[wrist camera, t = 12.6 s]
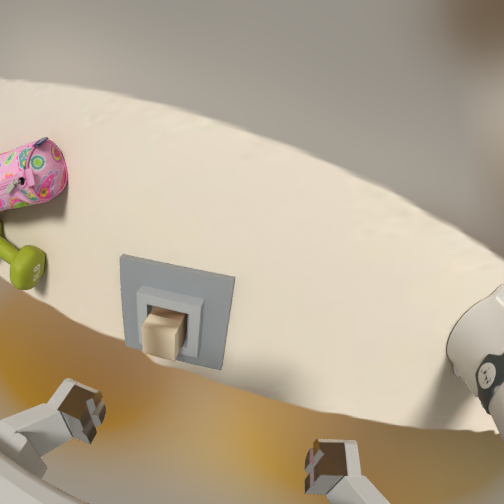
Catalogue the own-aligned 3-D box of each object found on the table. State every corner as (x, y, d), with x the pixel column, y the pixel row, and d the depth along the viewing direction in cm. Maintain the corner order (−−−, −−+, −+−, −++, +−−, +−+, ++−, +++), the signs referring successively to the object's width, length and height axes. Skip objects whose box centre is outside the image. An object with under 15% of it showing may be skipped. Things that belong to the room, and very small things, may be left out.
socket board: (235, 276, 40) (231, 288, 37) (222, 365, 46) (218, 379, 43) (123, 254, 41) (112, 263, 38) (128, 341, 47) (121, 353, 44)
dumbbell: (-8, 239, 43) (-33, 254, 37) (-6, 203, 40) (-33, 215, 34) (46, 282, 45) (21, 302, 38) (51, 245, 42) (23, 263, 35)
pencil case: (68, 133, 35) (24, 139, 26) (76, 195, 38) (35, 213, 30) (-11, 161, 37) (-48, 172, 29) (-4, 209, 41) (-38, 225, 32)
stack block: (187, 309, 41) (174, 335, 36) (186, 334, 43) (174, 361, 38) (157, 302, 42) (141, 326, 36) (157, 327, 43) (142, 352, 38)
